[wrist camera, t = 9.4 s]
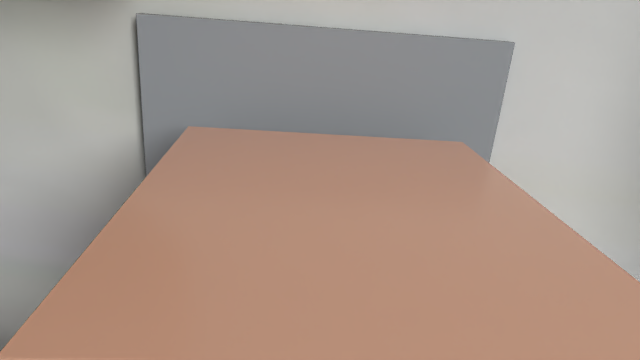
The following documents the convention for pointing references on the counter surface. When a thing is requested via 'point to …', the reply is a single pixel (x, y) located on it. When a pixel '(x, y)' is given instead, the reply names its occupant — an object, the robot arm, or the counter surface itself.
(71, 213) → the counter surface
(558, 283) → the salmon pink block
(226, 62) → the mat
